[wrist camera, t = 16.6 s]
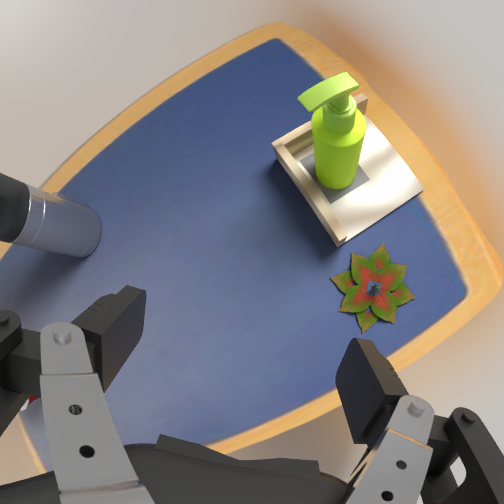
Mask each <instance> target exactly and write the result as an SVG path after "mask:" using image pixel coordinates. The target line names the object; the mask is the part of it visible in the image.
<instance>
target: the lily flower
mask: <svg viewBox="0 0 504 504" xmlns="http://www.w3.org/2000/svg"><path fill="white" fill-rule="evenodd" d="M384 247H385V246H384V243H383V244H382V246H380V247H379V248H378V250H376V251H375V252H374V253H373V254H372V255H371V256H370V258H369V259H368V258H366V257H363V256H360V255H355V254H354V253H352V252H351V254H352V263H351V270H350V271H345V272H343V273H340V274H338V275H337V276H336V277H330V278H331V279H332V280H333V281H334V283H335V284H337V286H338V288H339V289H340V290H341V291H342V292H343V293H345V294H346V296H345V298H344V300H343V302H342V306H341V308H340V309H339V311H338V312H340V311H343V312H347V311H349V312H356V314H357V319H358V322H359V325H360V327H361V328H362V334H363V333H364V331H366V330H367V329H368V328H369V326H372V325H373V324H374V323H375V322H376V321H377V320H378V318H379V317H380V318H382V319H384V320H386V321H391V322H392V323H393V324H394V321H395V314H396V311H397V306H398V305H402V304H404V303H406V302H408V301H410V300H411V299H414V298H415V297H414V296H413V294H412V293H411V292H409V291H410V290H409V289H408V287H407V286H406V285H405V284H403V283H402V281H403V278H404V275H405V268H407V265H399V264H391V260H390V257H389V254H388V252H387V250H386V249H385V248H384ZM378 267H379V271H378V272H377V268H378ZM369 281H377V282H378V283H381V285H380V286H381V290H380V291H378V290H377V289H379V288H376V286H377V285H378V284H377V285H376V284H375V286H373V287H372V288H373V289H374V290H373V291H376V290H377V291H378V292H380V294H379V293H378V294H379V297H378V296H371V295H369V293H368V294H366V289H367V285H368V282H369ZM352 282H356V283H357V284H358V285H356V286H353V285H352V284H351V283H352ZM377 282H376V283H377ZM374 283H375V282H374ZM374 283H373V284H374ZM378 287H379V286H378ZM377 291H376V293H377ZM390 291H393V292H394V294H392V293H390ZM370 304H371V308H372V310H371V312H369V314H368V316H367V311H366V309H367V308H368V307H369V306H370Z"/></svg>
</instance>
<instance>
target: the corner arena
mask: <svg viewBox="0 0 504 504" xmlns="http://www.w3.org/2000/svg"><path fill="white" fill-rule="evenodd" d="M354 99H355V101H356V104H357V109H358V110H359V111H360V112H361V113H362V115H363V116H364V118H365V121H366V132H365V136H364V141H363V146H362V150H361V154H360V159H359V163H358V167H357V171H356V175H355V178H354V180H353V182H352V183H351V184H350V185H349V186H347V187H346V188H343V189H331V188H328V187H326V186H324V185H323V184H322V183H321V182H320V181H319V179H318V178H317V175H316V168H315V156H314V145H313V135H312V125H311V121H309V122H307V123H305V124H304V125H302V126H300V127H298V128H297V129H295V130H293V131H291V132H290V133H288V134H286V135H285V136H283V137H281V138H279V139H278V140H276V141H274V142H273V143H272V146H273V149H274V152H275V154H276V157H277V159H278V161H279V162H280V163H281V165H282V166H283V168H284V169H285V170H286V172H287V173H288V175H289V176H290V177H291V179H292V180H293V182H294V183H295V185H296V186H297V187H298V189H299V190H300V192H301V193H302V195H303V196H304V198H305V199H306V201H307V202H308V203H309V205H310V206H311V208H312V209H313V211H314V212H315V214H316V215H317V217H318V218H319V220H320V221H321V223H322V224H323V226H324V227H325V229H326V231H327V232H328V234H329V235H330V237H331V238H332V240H333V241H334V243H335V245H336V246H337V247H339V246H340V245H342V244H343V243H345V242H346V241H348V240H349V239H351V238H353V237H354V236H356V235H357V234H359V233H360V232H362V231H363V230H365V229H366V228H368V227H369V226H371V225H372V224H374V223H375V222H377V221H378V220H380V219H382V218H383V217H385V216H386V215H387V214H389V213H390V212H392V211H393V210H395V209H396V208H398V207H399V206H401V205H402V204H404V203H405V202H407V201H408V200H410V199H411V198H413V197H414V196H415V195H417V194H418V193H420V192H421V191H423V190H424V188H423V186H422V185H421V184H420V182H419V181H418V179H417V178H416V177H415V175H414V174H413V173H412V171H411V170H410V169H409V167H408V166H407V165H406V163H405V162H404V161H403V159H402V158H401V157H400V155H399V154H398V153H397V152H396V150H395V149H394V148H393V147H392V145H391V144H390V143H389V142H388V141H387V139H386V138H385V137H384V136H383V135H382V133H381V132H380V131H379V130H378V129H377V128H376V126H375V125H374V124H373V123H372V122H371V121H370V120H369V118H368V117H367V116H366V115H365V111H366V106H367V100H368V98H367V97H366V96H365V95H364V94H363V93H361V94H359V95H357V96H355V97H354Z"/></svg>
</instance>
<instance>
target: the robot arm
mask: <svg viewBox="0 0 504 504" xmlns="http://www.w3.org/2000/svg"><path fill="white" fill-rule="evenodd" d="M100 236H101V221H100V219H99V216H98V215H97V214H96V213H95V212H94V211H92V210H90V208H89V206H88V205H86V204H83V203H81V202H78V201H76V200H73V199H71V198H69V197H66V196H64V195H61V194H59V193H56V192H54V193H52V194H50V193H47V192H45V191H42V190H40V189H37V188H35V187H32V186H30V185H27V184H25V183H22V182H20V181H18V180H15V179H13V178H11V177H8V176H6V175H4V174H1V173H0V241H3V242H7V243H12V244H16V245H21V246H26V247H30V248H35V249H40V250H45V251H50V252H54V253H59V254H64V255H69V256H74V257H79V258H84V257H87V256H89V255H90V254H91V253H92V252H93V251H94V250H95V248H96V247H97V245H98V243H99V240H100ZM145 304H146V291H145V290H142V289H139V288H135V287H132V286H128V285H127V286H125V287H124V288H123V289H122V290H121V291H119V292H118V293H117V294H116V295H115V294H109V295H106V296H103V297H100V298H99V299H98V300H97V301H96V302H94V304H92V305H91V306H90V307H88V309H86V310H85V311H84V312H83V313H81V314H80V315H79V316H78V317H77V318H76V319H75V320H73V321H72V322H71V323H66V322H56V323H51V324H49V325H47V326H45V327H44V328H43V329H42V331H41V332H35V331H31V330H26V329H22V328H21V321H20V318H19V316H18V315H17V314H16V313H14V312H12V311H8V310H0V437H1V435H2V434H3V432H4V431H5V430H6V428H7V427H8V425H9V424H10V423H11V421H12V420H13V418H14V417H15V416H16V414H17V413H18V412H19V410H20V409H21V408H22V406H23V405H24V404H25V402H26V401H27V400H28V399H29V397H30V396H31V395H32V396H36V397H40V398H42V407H43V414H44V422H45V428H46V434H47V440H48V445H49V450H50V455H51V459H52V464H53V468H54V471H50V472H47V473H44V474H41V475H38V476H34V477H31V478H28V479H24V480H20V481H17V482H13V483H10V484H5V485H1V486H0V504H416V503H417V500H418V497H419V494H421V497H422V500H423V504H504V456H503V454H502V452H501V451H500V449H499V447H498V446H497V444H496V442H495V441H494V439H493V438H492V436H491V435H490V433H489V432H488V430H487V428H486V427H485V425H484V424H483V422H482V421H481V419H480V418H479V417H478V415H477V414H475V413H474V412H472V411H471V410H469V409H466V408H462V407H459V408H456V409H454V411H453V412H452V414H451V415H450V417H449V418H445V417H441V416H436V415H434V410H433V408H432V407H431V405H430V404H429V403H428V402H427V401H425V400H424V399H422V398H420V397H417V396H413V395H409V394H408V392H407V390H406V388H405V387H404V385H403V383H402V382H401V380H400V378H398V375H397V373H396V372H395V371H394V368H393V367H392V365H391V363H390V362H389V361H388V360H387V359H386V358H385V357H384V356H382V355H381V354H380V353H379V351H378V350H377V348H376V346H375V345H374V343H373V342H372V341H371V340H365V339H359V338H353V339H352V340H351V341H350V343H349V345H348V348H347V350H346V352H345V355H344V357H343V359H342V361H341V363H340V366H339V368H338V370H337V374H336V387H337V390H338V393H339V396H340V399H341V402H342V406H343V409H344V412H345V415H346V419H347V422H348V425H349V428H350V432H351V435H352V438H353V441H354V444H367V445H368V447H367V449H366V450H365V451H364V453H363V454H362V456H361V458H360V459H359V461H358V462H357V464H356V465H355V467H354V469H353V470H352V472H351V473H350V474H349V476H348V477H347V479H346V480H345V482H344V481H342V480H341V479H339V478H337V477H334V476H332V475H329V474H326V473H323V472H320V470H319V464H318V461H314V460H298V459H287V458H276V459H262V460H246V461H244V460H237V459H234V458H232V457H229V456H227V455H224V454H221V453H219V452H217V451H214V450H212V449H209V448H207V447H205V446H202V445H200V444H196V443H192V442H188V441H184V440H180V439H176V438H173V437H169V436H166V435H162V434H160V435H159V438H158V441H157V444H144V443H140V444H129V445H123V444H122V442H121V439H120V437H119V434H118V432H117V429H116V427H115V424H114V421H113V419H112V416H111V413H110V411H109V408H108V405H107V402H106V399H105V396H104V393H105V391H106V390H107V388H108V387H109V385H110V384H111V382H112V381H113V379H114V378H115V376H116V375H117V373H118V372H119V370H120V369H121V367H122V366H123V364H124V363H125V361H126V360H127V358H128V357H129V355H130V354H131V352H132V351H133V350H134V348H135V347H136V345H137V344H138V342H139V340H140V338H141V335H142V332H143V326H144V315H145ZM459 456H460V458H461V460H462V462H463V464H464V466H465V469H466V478H465V481H464V482H463V483H462V484H461V485H460V486H459V487H458V485H457V483H456V481H455V478H454V476H453V474H452V472H451V469H450V466H451V465H452V464H453V463H454V462H455V460H456V459H457V458H458V457H459Z"/></svg>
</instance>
